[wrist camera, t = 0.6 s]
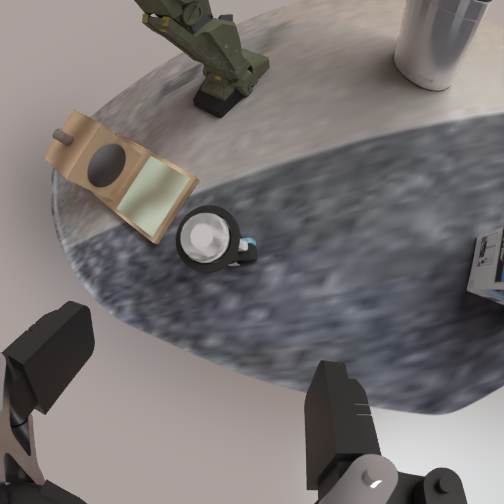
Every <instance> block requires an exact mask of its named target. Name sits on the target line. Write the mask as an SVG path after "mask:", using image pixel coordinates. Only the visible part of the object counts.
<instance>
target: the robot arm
mask: <svg viewBox="0 0 504 504" xmlns="http://www.w3.org/2000/svg"><path fill="white" fill-rule="evenodd" d="M491 1H492V0H406V5H405V10H404V15H403V20H402V24H401V28H400V33H399V37H398V41H397V45H396V49H395V53H394V62H395V64H396V66H397V68H398V69H399V71H400V72H401V73H402V74H403V75H404V76H405V77H406V78H407V79H409V80H410V81H412V82H413V83H415V84H416V85H419V86H421V87H423V88H426V89H429V90H434V91H440V90H445V89H447V88H448V87H449V86H450V85H451V83H452V81H453V80H454V78H455V76H456V74H457V72H458V70H459V69H460V67H461V65H462V63H463V61H464V59H465V57H466V55H467V53H468V51H469V49H470V47H471V45H472V43H473V41H474V39H475V37H476V35H477V33H478V30H479V28H480V26H481V24H482V22H483V20H484V17H485V15H486V12H487V10H488V8H489V5H490V3H491ZM94 344H95V340H94V334H93V327H92V320H91V313H90V309H89V308H88V307H87V306H85V305H81V304H79V303H76V302H73V301H68V302H66V303H65V304H64V305H63V306H62V307H61V308H59V309H58V310H55V311H52V312H50V313H48V314H45V315H44V316H43V317H41V318H40V319H39V320H38V321H37V322H36V323H35V324H33V325H32V326H31V327H30V328H29V329H28V331H27V330H26V331H25V332H24V333H23V334H22V335H21V336H20V337H18V338H17V339H16V340H15V341H14V342H13V343H12V344H11V345H10V346H8V347H7V348H6V349H5V350H4V351H3V352H2V353H0V504H87V503H85V502H84V501H83V500H81V499H80V498H79V497H77V496H75V495H73V494H71V493H70V492H68V491H66V490H64V489H62V488H60V487H59V486H57V485H55V484H53V483H52V482H50V481H48V480H46V481H45V480H44V477H43V475H42V472H41V470H40V468H39V466H38V462H37V457H36V449H35V441H34V430H33V418H32V415H31V412H32V411H33V410H34V409H36V410H38V411H40V412H41V413H43V414H45V415H46V413H47V412H48V411H49V409H50V408H51V407H52V405H53V404H54V403H55V401H56V400H57V399H58V397H59V396H60V395H61V394H62V392H63V391H64V390H65V388H66V387H67V386H68V384H69V383H70V382H71V381H72V379H73V378H74V377H75V375H76V374H77V373H78V372H79V370H80V369H81V368H82V367H83V365H84V364H85V363H86V361H87V360H88V359H89V358H90V357H91V355H92V353H93V350H94V346H95V345H94ZM304 413H305V437H306V476H307V490H318V500H317V501H316V502H315V503H314V504H467V500H466V496H465V493H464V489H463V485H462V482H461V479H460V478H459V476H458V475H457V474H456V473H455V472H454V471H452V470H450V469H447V468H436V469H434V470H432V471H431V472H429V473H428V474H427V475H426V476H425V477H423V476H418V475H412V474H406V473H402V472H398V471H397V469H396V467H395V466H394V465H393V463H392V462H391V461H390V460H388V459H387V458H385V457H383V456H382V455H381V452H380V448H379V443H378V439H377V435H376V431H375V427H374V423H373V419H372V416H371V411H370V407H369V406H368V400H367V396H366V392H365V390H364V389H363V387H362V386H361V385H360V384H359V382H358V381H357V380H356V379H348V375H347V371H346V366H345V364H344V363H340V362H331V361H323V360H322V361H320V363H319V365H318V367H317V370H316V372H315V375H314V377H313V380H312V382H311V384H310V387H309V389H308V392H307V395H306V399H305V405H304Z"/></svg>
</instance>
